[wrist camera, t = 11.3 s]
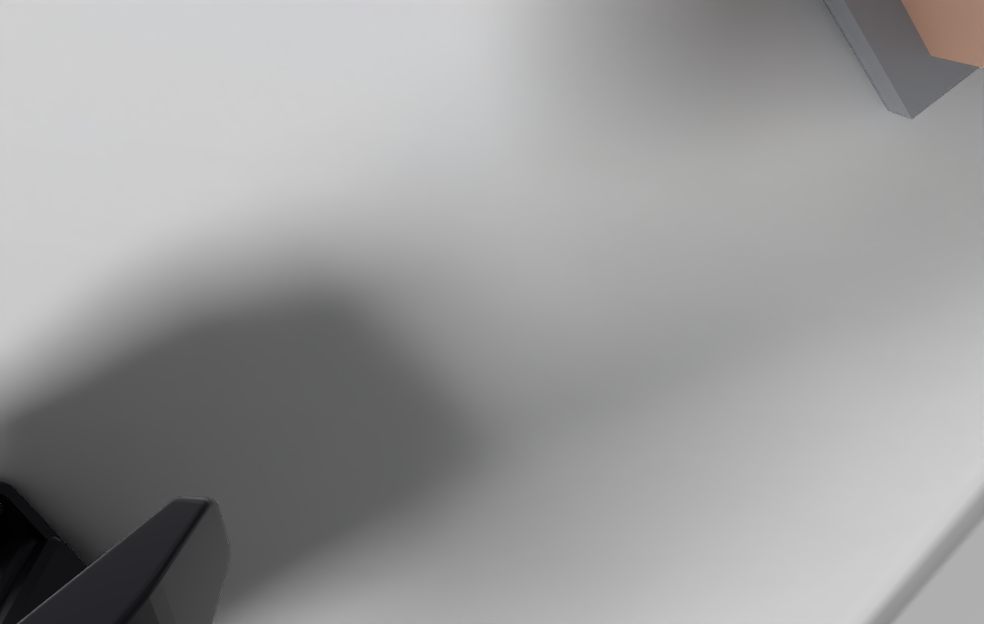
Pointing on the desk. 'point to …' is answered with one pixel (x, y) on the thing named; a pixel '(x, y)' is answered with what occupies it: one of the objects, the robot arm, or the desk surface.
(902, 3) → the tower base
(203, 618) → the robot arm
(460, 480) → the desk surface
